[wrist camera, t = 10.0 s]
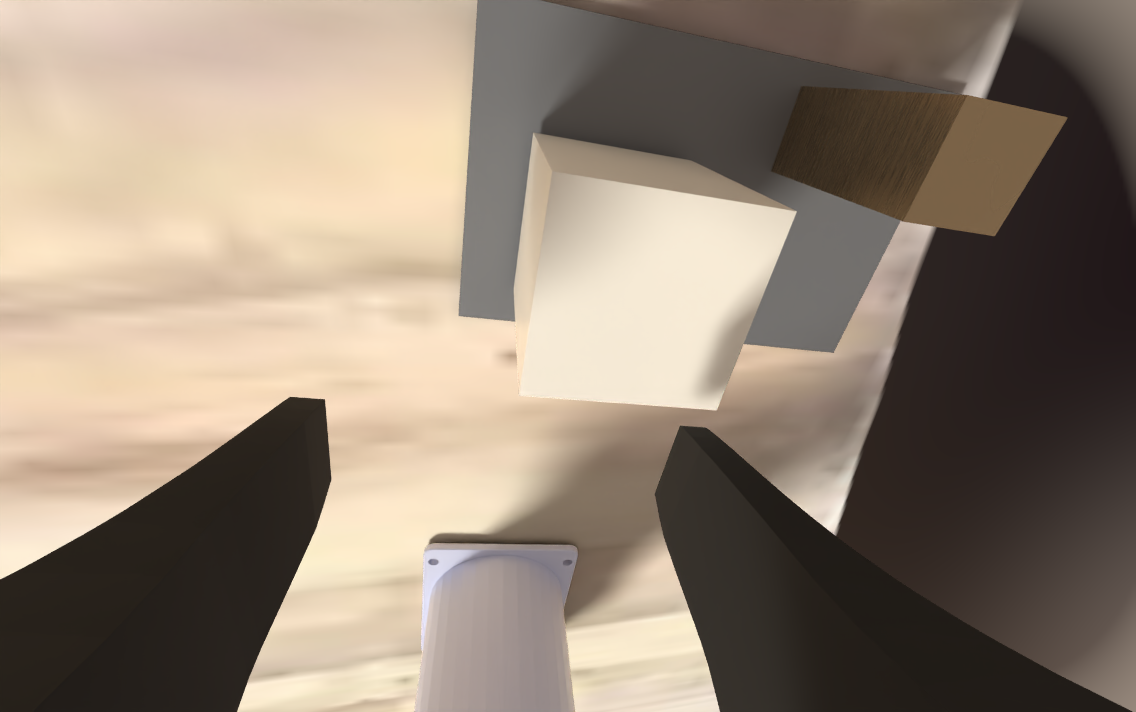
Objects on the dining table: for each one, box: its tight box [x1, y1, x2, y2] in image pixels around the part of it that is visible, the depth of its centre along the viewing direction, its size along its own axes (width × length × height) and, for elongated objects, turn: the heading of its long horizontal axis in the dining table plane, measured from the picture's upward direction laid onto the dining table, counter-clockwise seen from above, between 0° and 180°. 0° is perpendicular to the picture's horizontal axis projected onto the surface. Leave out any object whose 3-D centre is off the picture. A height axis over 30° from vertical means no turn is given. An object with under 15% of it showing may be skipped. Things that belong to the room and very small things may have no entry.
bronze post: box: [771, 86, 1067, 236], centre depth 13 cm, size 3×3×6 cm
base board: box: [459, 0, 962, 353], centre depth 17 cm, size 10×16×1 cm, turn 80°
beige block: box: [514, 132, 797, 410], centre depth 14 cm, size 5×5×7 cm
